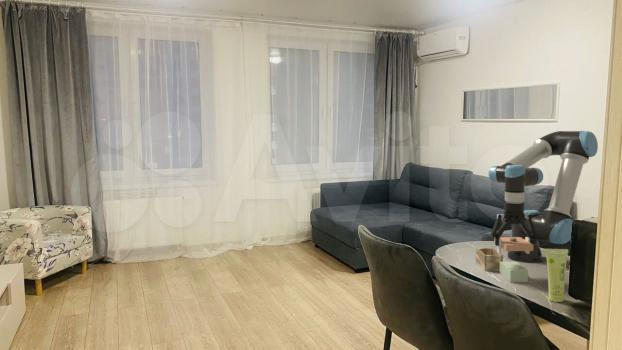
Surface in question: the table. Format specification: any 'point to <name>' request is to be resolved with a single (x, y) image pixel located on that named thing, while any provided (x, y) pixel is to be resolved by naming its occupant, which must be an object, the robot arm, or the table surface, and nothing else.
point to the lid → (515, 244)
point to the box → (488, 259)
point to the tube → (556, 273)
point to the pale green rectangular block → (513, 272)
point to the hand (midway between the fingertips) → (513, 253)
